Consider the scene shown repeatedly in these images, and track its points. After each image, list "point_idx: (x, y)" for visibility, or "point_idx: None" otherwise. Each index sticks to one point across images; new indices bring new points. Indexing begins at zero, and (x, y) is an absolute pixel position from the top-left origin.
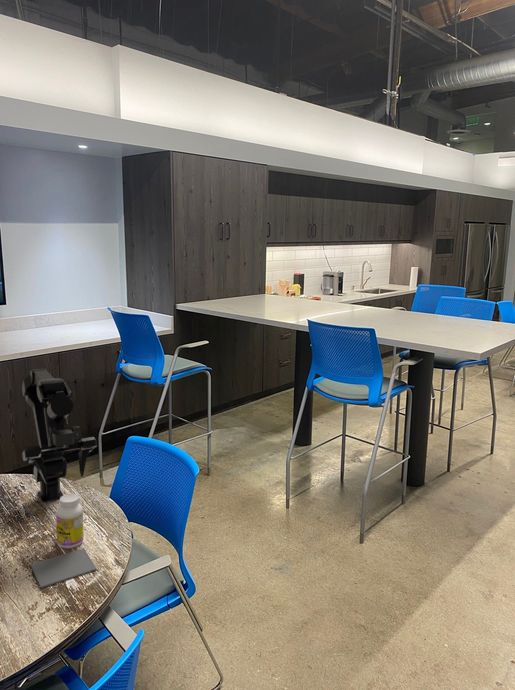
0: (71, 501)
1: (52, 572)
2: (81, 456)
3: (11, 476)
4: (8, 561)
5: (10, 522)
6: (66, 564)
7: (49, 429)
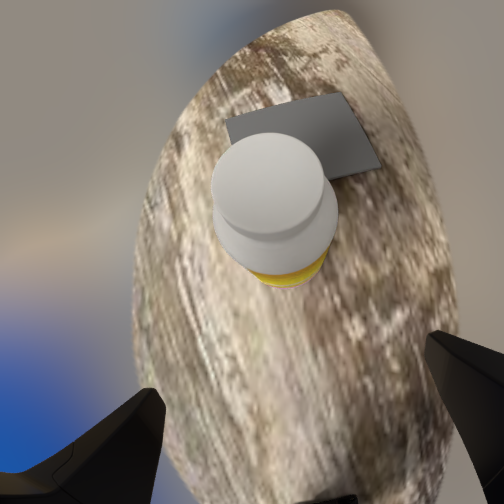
0: (254, 138)
1: (323, 123)
2: (59, 500)
3: None
4: (433, 200)
5: None
6: None
7: None
